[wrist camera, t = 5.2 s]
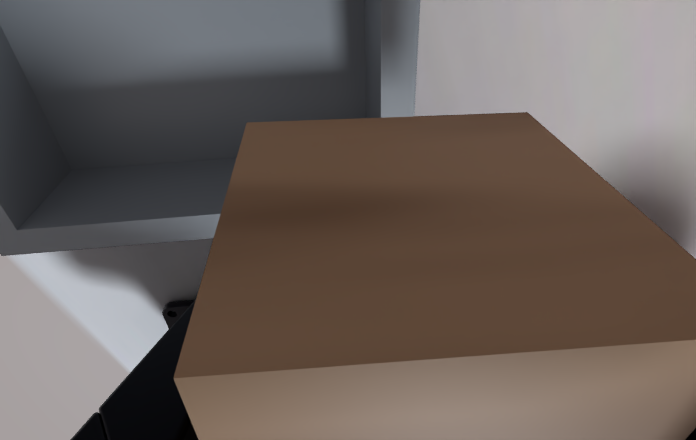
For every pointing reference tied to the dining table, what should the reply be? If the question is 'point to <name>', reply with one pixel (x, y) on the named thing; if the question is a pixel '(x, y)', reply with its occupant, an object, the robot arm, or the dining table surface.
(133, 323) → the dining table surface
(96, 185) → the tote
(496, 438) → the cube
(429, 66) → the dining table surface
